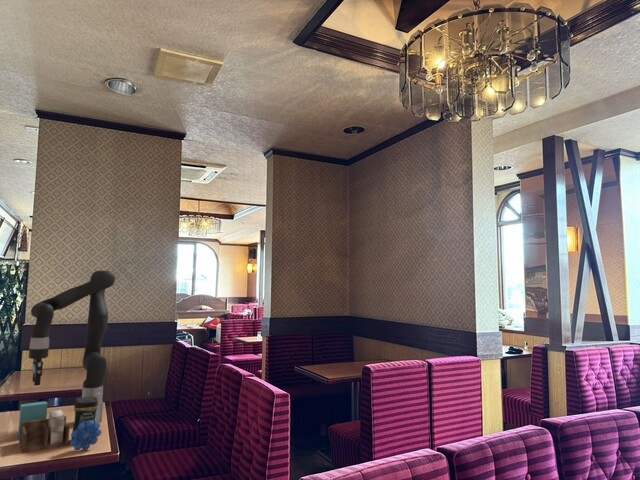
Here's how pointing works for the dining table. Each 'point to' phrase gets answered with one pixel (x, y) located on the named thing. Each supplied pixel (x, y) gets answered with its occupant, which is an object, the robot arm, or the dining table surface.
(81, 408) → the coffee jar
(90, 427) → the grapes
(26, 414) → the teal book
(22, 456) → the dining table surface
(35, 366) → the robot arm
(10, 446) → the dining table surface
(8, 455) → the dining table surface
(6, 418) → the dining table surface
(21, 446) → the book rack
